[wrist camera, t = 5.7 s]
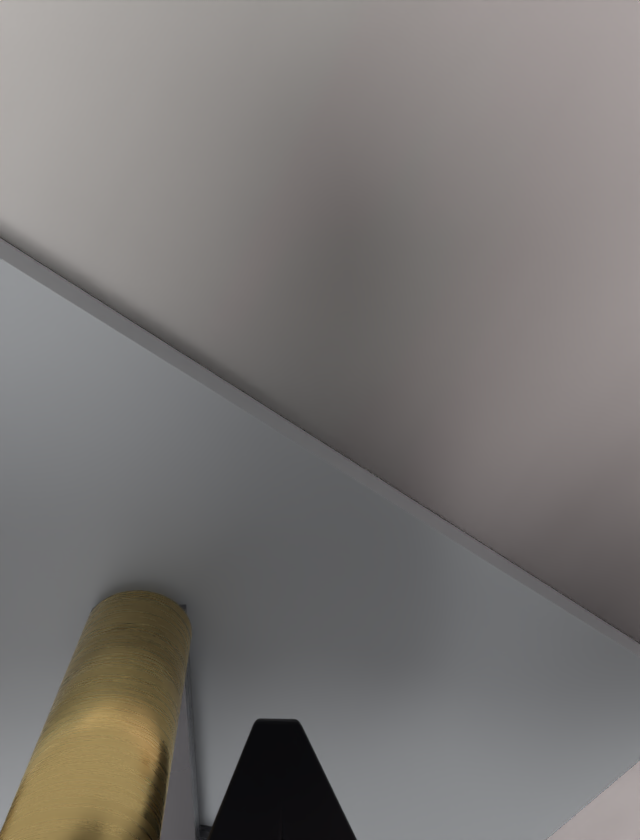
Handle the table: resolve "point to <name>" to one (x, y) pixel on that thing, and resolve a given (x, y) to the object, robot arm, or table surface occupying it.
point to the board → (284, 590)
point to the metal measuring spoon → (117, 733)
